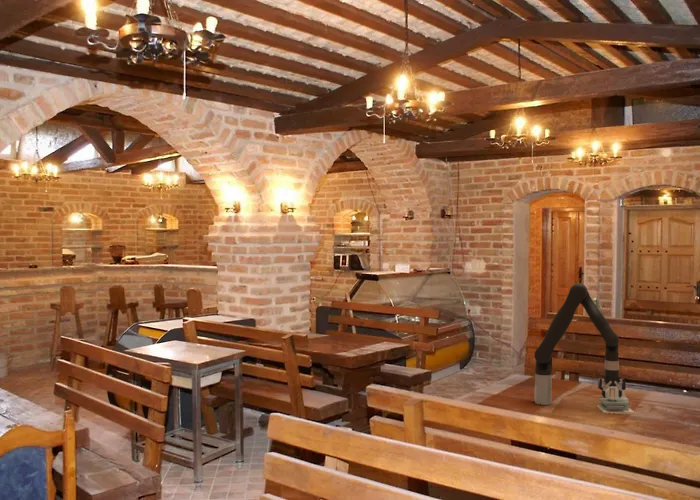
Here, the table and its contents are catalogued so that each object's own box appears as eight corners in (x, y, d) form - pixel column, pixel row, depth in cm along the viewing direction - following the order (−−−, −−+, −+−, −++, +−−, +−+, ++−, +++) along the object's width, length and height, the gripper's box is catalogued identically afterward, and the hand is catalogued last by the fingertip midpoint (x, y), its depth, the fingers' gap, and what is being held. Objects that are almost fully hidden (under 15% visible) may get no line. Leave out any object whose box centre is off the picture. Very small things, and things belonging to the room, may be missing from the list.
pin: (610, 408, 356) (610, 389, 355) (608, 407, 359) (608, 387, 358) (615, 408, 355) (615, 389, 355) (613, 407, 358) (613, 387, 358)
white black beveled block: (610, 405, 365) (605, 388, 368) (604, 406, 369) (599, 389, 372) (629, 401, 374) (624, 384, 376) (622, 402, 378) (617, 385, 380)
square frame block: (604, 413, 350) (604, 404, 349) (597, 407, 363) (597, 398, 362) (634, 413, 348) (634, 404, 348) (626, 407, 361) (626, 398, 361)
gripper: (600, 369, 353) (600, 398, 354) (627, 369, 352) (627, 399, 352) (596, 366, 361) (596, 395, 361) (622, 367, 359) (622, 395, 360)
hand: (611, 397), depth 357 cm, fingers open, 8 cm apart
